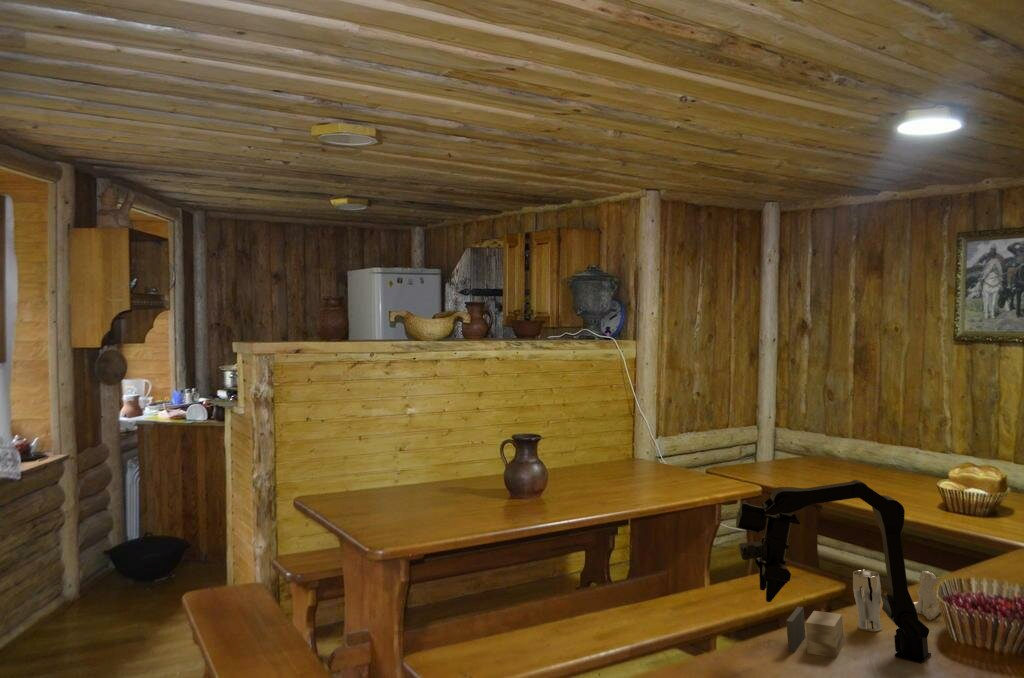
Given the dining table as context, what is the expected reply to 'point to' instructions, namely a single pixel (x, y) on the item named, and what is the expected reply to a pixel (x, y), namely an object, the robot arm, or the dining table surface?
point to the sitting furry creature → (927, 596)
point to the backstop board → (795, 629)
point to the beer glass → (867, 599)
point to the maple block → (824, 634)
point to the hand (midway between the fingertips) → (765, 595)
